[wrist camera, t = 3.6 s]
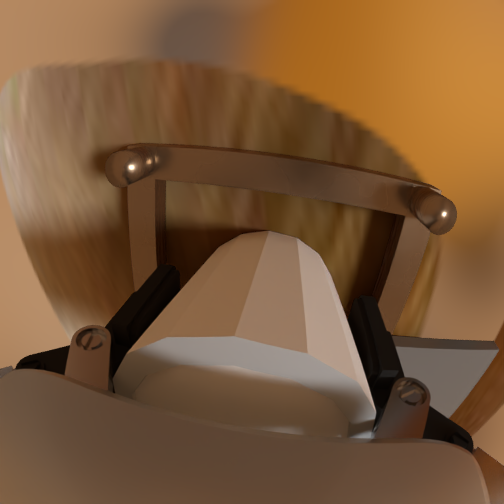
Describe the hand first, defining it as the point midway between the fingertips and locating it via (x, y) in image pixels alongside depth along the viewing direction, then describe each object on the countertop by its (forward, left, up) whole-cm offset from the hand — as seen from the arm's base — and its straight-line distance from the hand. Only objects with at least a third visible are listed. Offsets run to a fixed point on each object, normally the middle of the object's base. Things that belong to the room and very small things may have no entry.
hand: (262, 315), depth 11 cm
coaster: (+6, +9, -2) cm, 11 cm away
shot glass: (0, 0, -2) cm, 2 cm away
